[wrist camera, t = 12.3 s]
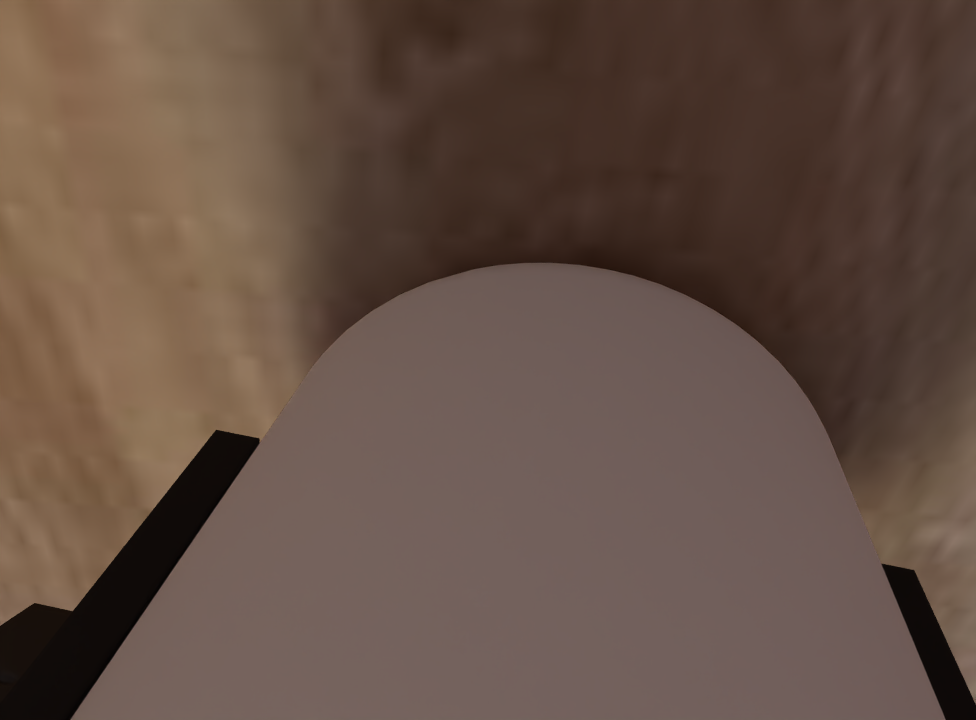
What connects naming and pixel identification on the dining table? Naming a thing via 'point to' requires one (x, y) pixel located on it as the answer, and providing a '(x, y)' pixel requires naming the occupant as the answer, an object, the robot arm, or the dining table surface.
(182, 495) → the robot arm
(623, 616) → the cup
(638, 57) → the dining table surface
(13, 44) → the dining table surface
